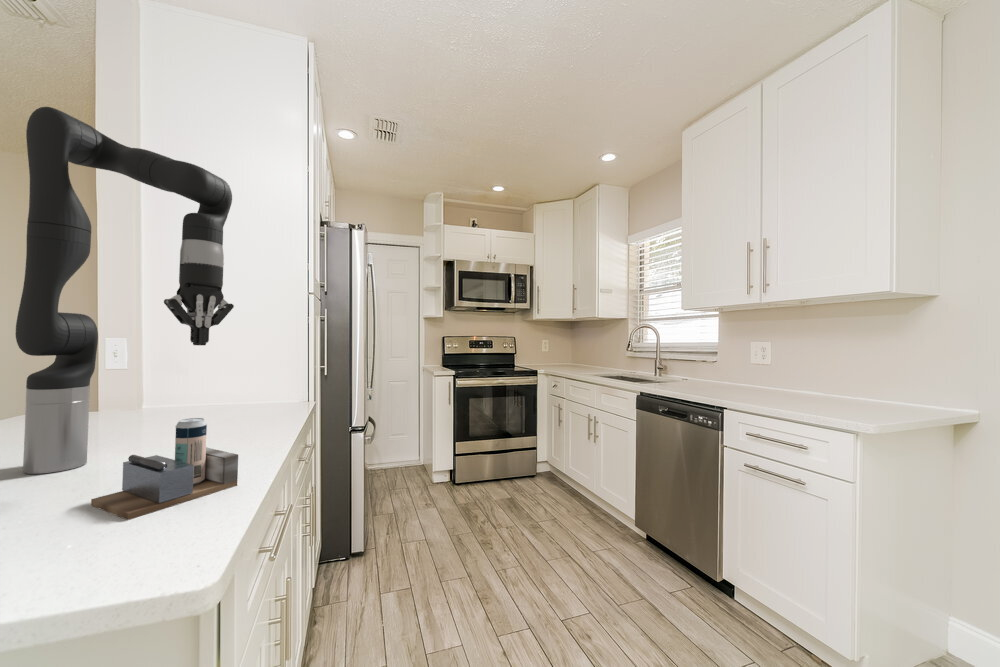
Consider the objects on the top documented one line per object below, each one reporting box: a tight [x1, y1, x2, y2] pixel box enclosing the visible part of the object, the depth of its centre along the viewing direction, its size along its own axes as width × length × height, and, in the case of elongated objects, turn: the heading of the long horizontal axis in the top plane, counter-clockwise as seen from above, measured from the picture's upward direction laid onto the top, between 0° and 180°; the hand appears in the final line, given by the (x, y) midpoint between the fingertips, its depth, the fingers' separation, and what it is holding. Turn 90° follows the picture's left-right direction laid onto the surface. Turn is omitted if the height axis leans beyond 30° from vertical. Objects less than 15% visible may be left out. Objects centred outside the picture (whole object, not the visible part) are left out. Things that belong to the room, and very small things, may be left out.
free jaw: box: [121, 454, 194, 503], centre depth 72 cm, size 12×5×6 cm, turn 65°
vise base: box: [90, 446, 239, 521], centre depth 73 cm, size 12×17×6 cm
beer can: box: [174, 417, 208, 485], centre depth 76 cm, size 5×5×12 cm
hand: (199, 345), depth 86 cm, fingers closed
